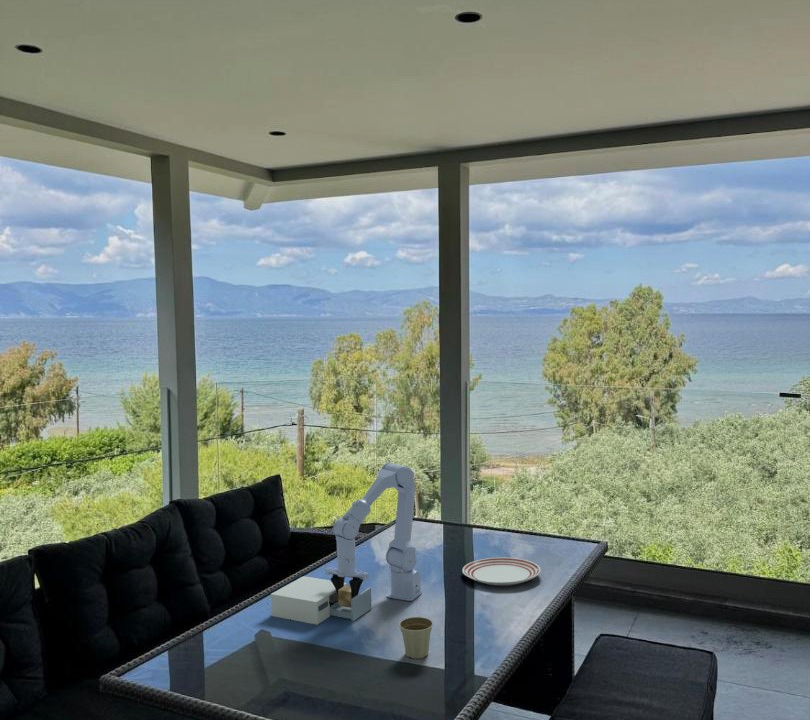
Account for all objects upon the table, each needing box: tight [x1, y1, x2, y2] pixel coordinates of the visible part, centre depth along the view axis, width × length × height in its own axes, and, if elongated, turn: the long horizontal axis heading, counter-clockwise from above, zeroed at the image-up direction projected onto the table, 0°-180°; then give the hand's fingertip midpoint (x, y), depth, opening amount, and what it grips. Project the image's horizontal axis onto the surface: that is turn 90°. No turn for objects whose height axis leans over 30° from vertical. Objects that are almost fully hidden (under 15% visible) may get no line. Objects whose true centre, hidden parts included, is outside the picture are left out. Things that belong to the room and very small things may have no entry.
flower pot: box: [398, 616, 434, 660], centre depth 211 cm, size 9×9×9 cm
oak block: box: [338, 585, 352, 608], centre depth 242 cm, size 4×4×5 cm
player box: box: [270, 575, 348, 626], centre depth 245 cm, size 17×18×7 cm
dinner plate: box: [461, 556, 542, 587], centre depth 272 cm, size 27×27×3 cm
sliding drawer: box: [329, 587, 372, 622], centre depth 242 cm, size 10×11×7 cm
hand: (347, 599), depth 242 cm, fingers closed on oak block, 4 cm apart
